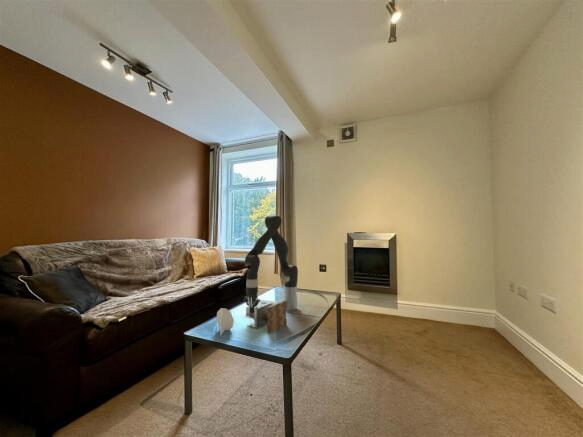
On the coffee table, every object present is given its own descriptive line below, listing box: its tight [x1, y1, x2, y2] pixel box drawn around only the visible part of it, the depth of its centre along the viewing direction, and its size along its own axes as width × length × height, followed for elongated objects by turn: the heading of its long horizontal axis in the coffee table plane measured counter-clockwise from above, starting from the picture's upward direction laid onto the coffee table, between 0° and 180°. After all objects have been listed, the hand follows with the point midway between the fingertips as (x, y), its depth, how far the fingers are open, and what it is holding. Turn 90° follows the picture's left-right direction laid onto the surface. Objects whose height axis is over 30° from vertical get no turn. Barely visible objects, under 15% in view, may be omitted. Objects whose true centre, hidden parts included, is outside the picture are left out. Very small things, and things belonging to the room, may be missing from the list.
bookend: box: [246, 303, 271, 330], centre depth 151 cm, size 13×8×12 cm, turn 145°
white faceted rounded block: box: [216, 307, 234, 336], centre depth 137 cm, size 10×11×15 cm
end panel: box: [266, 300, 287, 334], centre depth 144 cm, size 16×2×15 cm, turn 145°
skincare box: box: [245, 299, 280, 316], centre depth 175 cm, size 21×5×16 cm
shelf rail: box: [249, 313, 288, 327], centre depth 158 cm, size 2×31×4 cm, turn 55°
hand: (251, 312), depth 155 cm, fingers closed
